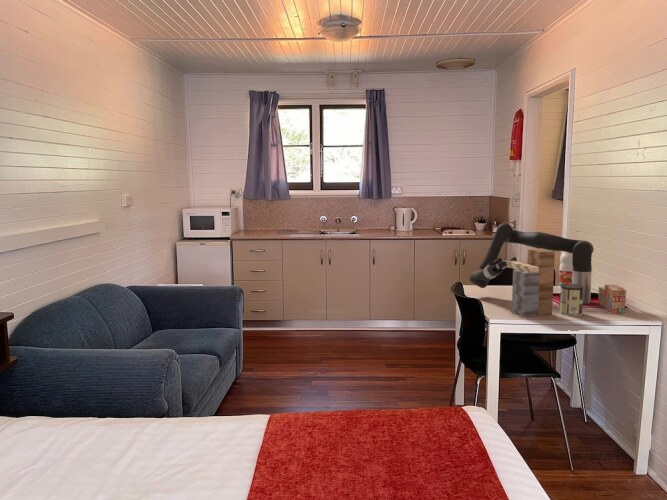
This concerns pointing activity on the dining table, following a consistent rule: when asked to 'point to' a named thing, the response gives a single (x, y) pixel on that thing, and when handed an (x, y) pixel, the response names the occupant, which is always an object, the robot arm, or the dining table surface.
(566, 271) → the fruit juice
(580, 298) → the coffee can
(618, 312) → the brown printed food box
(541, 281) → the stepped stand
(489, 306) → the dining table surface
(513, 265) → the birch bar
